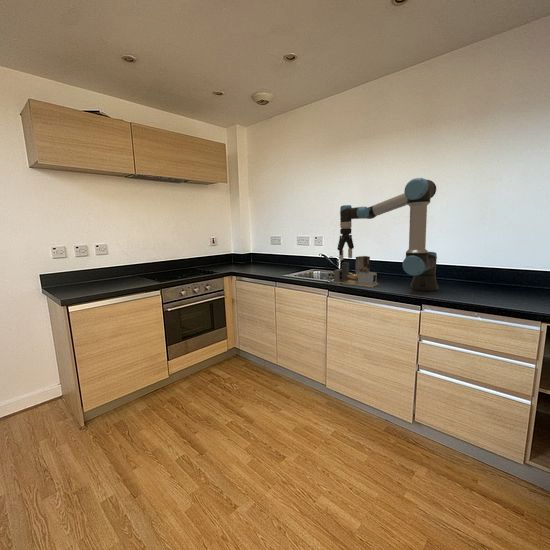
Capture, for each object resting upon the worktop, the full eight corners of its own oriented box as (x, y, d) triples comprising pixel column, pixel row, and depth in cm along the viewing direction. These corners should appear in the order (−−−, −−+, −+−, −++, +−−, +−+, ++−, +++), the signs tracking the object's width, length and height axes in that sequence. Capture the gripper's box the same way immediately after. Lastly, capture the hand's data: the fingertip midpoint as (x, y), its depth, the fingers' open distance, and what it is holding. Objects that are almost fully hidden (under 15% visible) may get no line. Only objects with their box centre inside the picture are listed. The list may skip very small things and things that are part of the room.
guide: (378, 284, 193) (378, 272, 192) (372, 287, 186) (373, 274, 184) (338, 280, 213) (338, 269, 211) (331, 282, 205) (331, 271, 204)
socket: (343, 280, 208) (344, 269, 207) (339, 281, 203) (339, 270, 201) (339, 279, 211) (339, 269, 210) (333, 281, 205) (334, 270, 204)
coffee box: (364, 275, 228) (364, 255, 226) (369, 277, 222) (370, 256, 220) (354, 276, 225) (355, 256, 222) (360, 278, 219) (360, 257, 216)
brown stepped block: (363, 281, 196) (364, 263, 194) (361, 282, 194) (362, 263, 192) (340, 279, 208) (340, 261, 206) (337, 280, 205) (337, 262, 203)
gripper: (348, 228, 209) (348, 256, 212) (332, 228, 191) (332, 260, 194) (358, 227, 204) (358, 257, 208) (342, 228, 186) (342, 260, 189)
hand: (345, 258), depth 201 cm, fingers open, 13 cm apart
